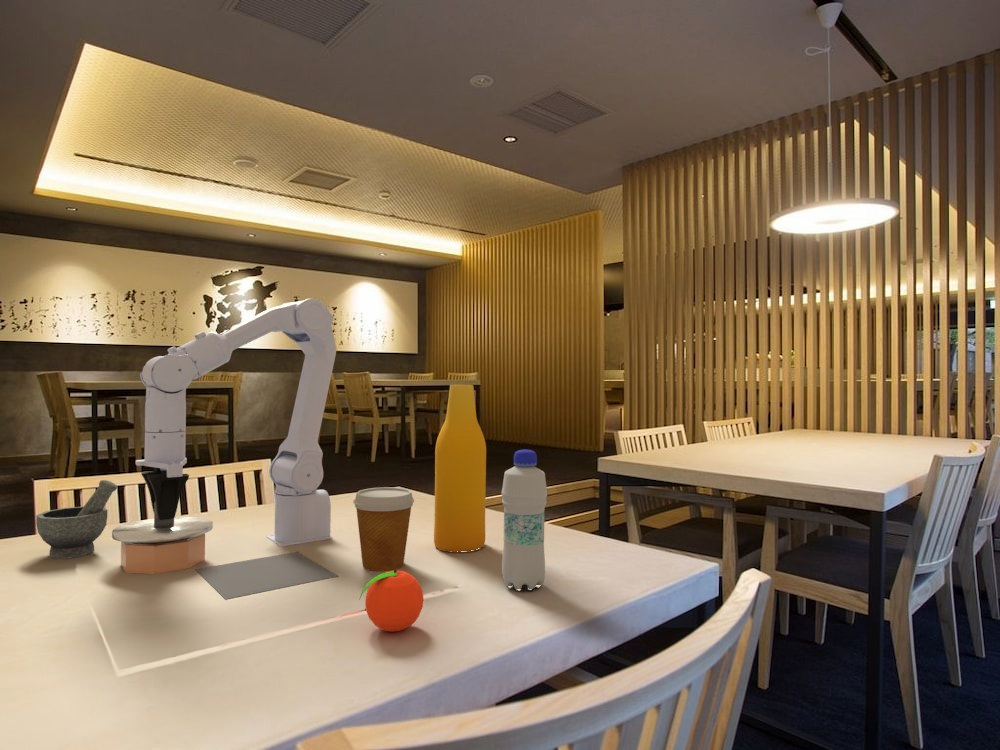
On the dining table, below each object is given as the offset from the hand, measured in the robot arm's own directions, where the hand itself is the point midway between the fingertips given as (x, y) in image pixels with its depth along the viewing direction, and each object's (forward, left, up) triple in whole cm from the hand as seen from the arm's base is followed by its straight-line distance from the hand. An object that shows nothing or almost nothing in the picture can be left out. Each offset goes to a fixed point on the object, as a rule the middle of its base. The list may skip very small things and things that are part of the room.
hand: (164, 516), depth 98 cm
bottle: (-39, +42, -8) cm, 58 cm away
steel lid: (0, 0, -2) cm, 2 cm away
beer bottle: (-44, +19, -8) cm, 49 cm away
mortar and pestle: (+10, -16, -8) cm, 20 cm away
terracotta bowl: (0, 0, -8) cm, 8 cm away
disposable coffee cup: (-27, +22, -8) cm, 36 cm away
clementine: (-16, +44, -8) cm, 47 cm away
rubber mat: (-11, +15, -8) cm, 20 cm away
